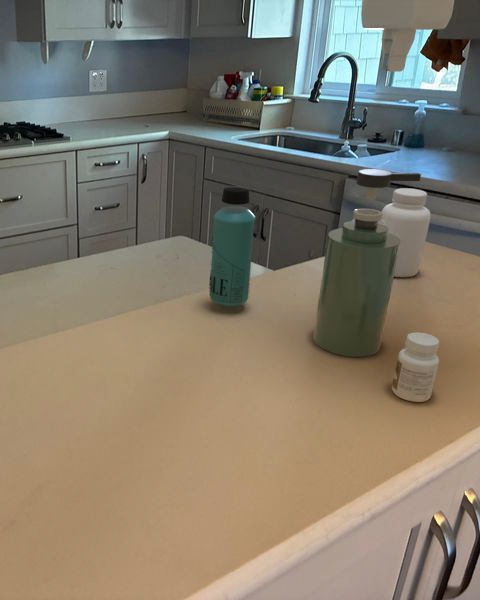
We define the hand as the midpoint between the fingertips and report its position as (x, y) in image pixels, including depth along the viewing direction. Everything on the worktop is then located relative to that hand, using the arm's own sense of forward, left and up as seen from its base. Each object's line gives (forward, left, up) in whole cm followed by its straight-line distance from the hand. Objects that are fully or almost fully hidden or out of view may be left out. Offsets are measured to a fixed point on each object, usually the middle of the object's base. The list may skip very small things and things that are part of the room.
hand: (392, 70), depth 75 cm
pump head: (-2, 0, -16) cm, 16 cm away
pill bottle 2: (-4, +13, -37) cm, 40 cm away
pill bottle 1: (-16, -30, -37) cm, 50 cm away
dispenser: (0, 0, -37) cm, 37 cm away
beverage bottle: (+16, -11, -37) cm, 42 cm away
